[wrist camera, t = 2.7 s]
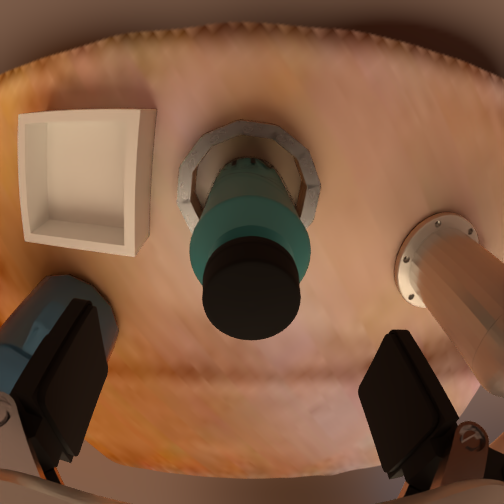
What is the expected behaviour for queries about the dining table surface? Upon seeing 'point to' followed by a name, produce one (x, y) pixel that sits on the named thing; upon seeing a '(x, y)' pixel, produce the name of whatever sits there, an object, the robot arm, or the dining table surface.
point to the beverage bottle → (250, 252)
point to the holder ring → (301, 155)
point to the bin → (87, 178)
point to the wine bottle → (47, 323)
